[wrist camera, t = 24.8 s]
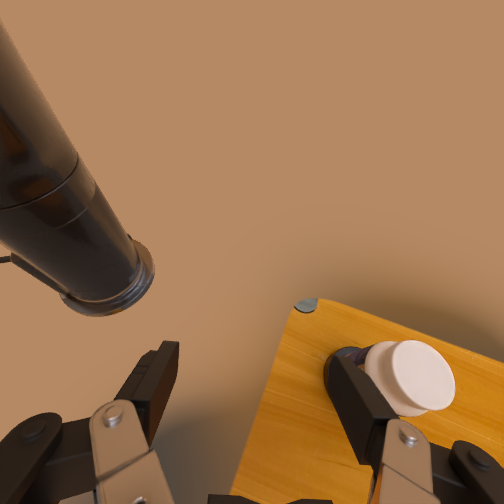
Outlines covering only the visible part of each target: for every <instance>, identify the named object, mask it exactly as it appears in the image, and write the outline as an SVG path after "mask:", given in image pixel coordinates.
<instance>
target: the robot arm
mask: <svg viewBox="0 0 504 504" xmlns="http://www.w3.org/2000/svg"><path fill="white" fill-rule="evenodd" d="M130 239H131V240H132V241H133V239H132V238H131V236H130V235H129V234H127V233H126V232H125V230H124V228H123V227H122V225H121V223H120V222H119V220H118V218H117V217H116V215H115V214H114V212H113V210H112V209H111V207H110V205H109V204H108V202H107V200H106V199H105V197H104V195H103V194H102V192H101V190H100V189H99V187H98V185H97V184H96V182H95V180H94V179H93V177H92V176H91V174H90V172H89V171H88V169H87V167H86V166H85V164H84V162H83V161H82V159H81V158H80V156H79V154H78V152H77V151H76V149H75V147H74V145H73V144H72V142H71V140H70V139H69V137H68V136H67V134H66V132H65V131H64V129H63V127H62V126H61V124H60V122H59V120H58V119H57V117H56V115H55V114H54V112H53V110H52V108H51V106H50V105H49V103H48V101H47V100H46V98H45V96H44V95H43V93H42V91H41V89H40V88H39V86H38V84H37V83H36V81H35V79H34V78H33V76H32V74H31V72H30V71H29V70H28V67H27V66H26V64H25V62H24V60H23V59H22V57H21V55H20V53H19V51H18V50H17V48H16V46H15V44H14V42H13V41H12V39H11V37H10V35H9V33H8V32H7V30H6V28H5V26H4V24H3V23H2V21H1V19H0V244H1V245H3V246H4V247H5V248H7V249H8V250H10V251H11V252H12V253H11V255H10V256H5V257H0V263H6V262H12V263H14V264H15V265H17V266H18V267H20V268H22V269H23V270H24V271H26V272H28V273H29V274H31V275H32V276H34V277H35V278H37V279H38V280H40V281H42V282H43V283H45V284H46V285H48V286H50V287H51V288H52V289H54V290H55V291H57V292H59V293H60V294H62V295H63V296H65V297H66V298H77V299H78V300H80V301H82V302H85V303H88V304H104V303H109V302H112V301H115V300H117V299H119V298H121V297H123V296H124V295H126V294H127V293H128V292H130V291H131V290H132V289H133V288H134V287H135V285H136V284H137V283H138V281H139V280H140V278H141V275H142V272H143V260H142V257H141V255H140V254H139V252H138V250H137V249H136V248H135V247H134V245H133V243H132V242H131V240H130ZM178 358H179V342H174V341H163V342H162V344H161V346H160V347H159V349H158V351H153V350H150V351H149V352H148V353H146V354H145V355H143V356H142V357H141V359H140V360H139V362H138V363H137V365H136V367H135V368H134V369H133V371H132V373H131V374H130V375H129V377H128V378H127V380H126V381H125V383H124V385H123V386H122V388H121V389H120V391H119V392H118V394H117V395H116V397H115V398H114V400H113V401H111V402H109V403H106V404H105V405H103V406H101V407H100V408H99V409H98V410H97V411H96V412H95V413H94V414H93V415H92V416H91V417H89V418H85V419H81V420H77V421H71V422H67V423H62V418H61V417H60V415H58V414H56V413H50V412H49V413H42V414H38V415H35V416H33V417H30V418H28V419H26V420H25V421H23V422H21V423H20V424H18V425H17V426H16V427H15V428H13V429H12V430H11V431H10V432H9V434H7V435H6V437H5V438H4V439H3V440H2V441H1V442H0V504H58V503H59V502H60V500H63V499H66V498H69V497H72V496H76V495H79V494H82V493H85V492H89V491H92V496H93V504H175V503H174V501H173V498H172V495H171V493H170V490H169V487H168V484H167V481H166V479H165V476H164V473H163V470H162V467H161V465H160V462H159V459H158V457H157V454H156V452H155V450H154V449H151V450H149V449H150V446H151V444H152V441H153V438H154V436H155V433H156V430H157V428H158V425H159V423H160V420H161V418H162V415H163V412H164V410H165V407H166V404H167V402H168V399H169V397H170V394H171V391H172V389H173V386H174V383H175V380H176V377H177V371H178ZM327 387H328V393H329V396H330V398H331V400H332V402H333V405H334V407H335V409H336V412H337V414H338V416H339V418H340V421H341V423H342V425H343V428H344V430H345V432H346V435H347V437H348V439H349V441H350V444H351V446H352V448H353V451H354V453H355V455H356V457H357V460H358V462H359V464H360V465H371V467H372V469H373V474H372V477H371V483H370V489H369V495H368V500H367V504H504V469H503V468H502V467H501V466H500V464H499V463H498V462H497V461H496V460H495V459H494V458H493V457H491V456H490V455H489V454H488V453H487V452H485V451H484V450H482V449H481V448H479V447H477V446H475V445H474V444H471V443H469V442H466V441H461V440H458V441H455V442H454V443H453V446H452V449H451V450H450V449H448V448H445V447H442V446H439V445H436V444H433V443H430V442H428V440H427V438H426V437H425V436H424V435H423V433H422V432H421V431H420V430H418V429H417V428H416V427H415V426H413V425H412V424H410V423H408V422H406V421H404V420H400V418H399V417H398V415H397V414H396V413H395V411H394V410H393V408H392V407H391V406H390V404H389V403H388V401H387V400H386V399H385V397H384V396H383V394H381V391H380V390H379V389H378V387H377V386H376V384H375V383H374V382H373V380H372V379H371V377H370V376H369V375H368V374H367V373H365V372H364V371H363V370H362V369H361V368H357V367H356V365H355V364H354V362H353V361H352V359H351V358H350V357H346V356H333V358H332V363H331V367H330V372H329V376H328V381H327ZM207 504H260V503H257V502H254V501H252V500H249V499H247V498H244V497H241V496H234V495H212V494H209V495H208V503H207ZM287 504H333V503H332V500H317V499H300V500H297V501H294V502H291V503H287Z"/></svg>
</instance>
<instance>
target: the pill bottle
mask: <svg viewBox="0 0 504 504" xmlns="http://www.w3.org/2000/svg"><path fill="white" fill-rule="evenodd" d="M346 357H350V358H351V359H352V361H353V362H354V364H355V365H356V367H357V368H361V369H362V370H363V371H364V372H365V373H367V374H368V375H369V376H370V377H371V379H372V380H373V382H374V383H375V384H376V386H377V387H378V389H379V390H380V391H381V394H383V396H384V397H385V399H386V400H387V401H388V403H389V404H390V406H391V407H392V408H393V410H394V411H395V413H396V414H397V415H398V416H402V417H416V416H420V415H422V414H424V413H426V412H427V411H428V410H432V411H437V410H442V409H444V408H446V407H448V406H449V405H450V404H451V402H452V401H453V398H454V395H455V381H454V377H453V374H452V372H451V369H450V367H449V366H448V364H447V362H446V361H445V360H444V358H443V357H442V356H441V355H440V354H439V353H438V352H437V351H436V350H435V349H433V348H432V347H430V346H429V345H427V344H425V343H423V342H420V341H416V340H406V341H402V342H394V341H384V342H380V343H377V344H374V345H371V346H369V347H366V348H363V349H360V350H358V351H355V352H352V353H349V354H347V355H346Z"/></svg>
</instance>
